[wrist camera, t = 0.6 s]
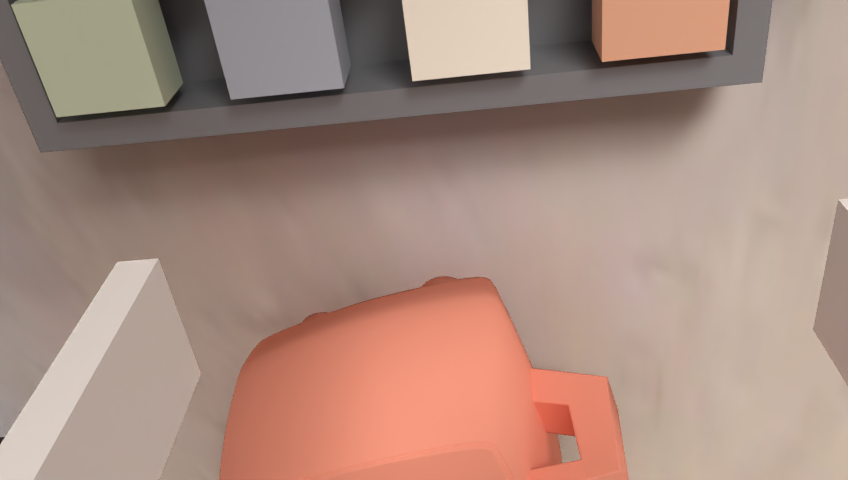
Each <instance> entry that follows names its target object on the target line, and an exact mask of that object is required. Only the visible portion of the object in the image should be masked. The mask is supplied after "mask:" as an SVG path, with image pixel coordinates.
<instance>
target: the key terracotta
mask: <svg viewBox="0 0 848 480" xmlns="http://www.w3.org/2000/svg"><path fill="white" fill-rule="evenodd" d="M729 4H730V0H592V42H593V44H594V46H595V49H596V51H597V53H598V55H599V57H600V59H601V61H602V62H607V61H617V60H627V59H637V58H647V57H657V56H666V55H676V54H686V53H696V52H706V51H716V50H725V45H726V35H727V25H728V14H729Z"/></svg>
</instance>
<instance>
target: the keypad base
mask: <svg viewBox="0 0 848 480" xmlns="http://www.w3.org/2000/svg"><path fill="white" fill-rule="evenodd" d="M16 1H18V0H0V59H1V61H2V64H3V66H4V68H5V71H6V73H7V75H8V78H9V80H10V82H11V85H12V87H13V89H14V92H15V94H16V96H17V99H18V101H19V103H20V106H21V108H22V110H23V113H24V115H25V117H26V120H27V122H28V124H29V127H30V129H31V131H32V134H33V136H34V138H35V141H36V143H37V145H38V148H39V150H40V152H52V151H62V150H72V149H82V148H93V147H103V146H113V145H123V144H134V143H144V142H154V141H165V140H175V139H185V138H195V137H206V136H216V135H226V134H236V133H247V132H257V131H267V130H277V129H288V128H298V127H308V126H318V125H329V124H339V123H349V122H360V121H370V120H380V119H390V118H401V117H411V116H421V115H431V114H442V113H452V112H462V111H472V110H483V109H493V108H503V107H513V106H524V105H534V104H544V103H554V102H565V101H575V100H585V99H596V98H606V97H616V96H626V95H637V94H647V93H657V92H667V91H678V90H688V89H698V88H708V87H719V86H729V85H739V84H749V83H760V82H762V79H763V71H764V63H765V55H766V47H767V39H768V31H769V23H770V15H771V7H772V0H730V4H729V14H728V25H727V35H726V45H725V50H716V51H706V52H696V53H686V54H676V55H666V56H657V57H647V58H637V59H627V60H617V61H607V62H602V61H601V59H600V57H599V55H598V53H597V51H596V49H595V46H594V44H593V42H592V0H528V22H529V45H530V68H531V69H528V70H518V71H509V72H499V73H489V74H479V75H469V76H459V77H449V78H440V79H430V80H420V81H412V74H411V66H410V59H409V51H408V44H407V36H406V28H405V21H404V13H403V6H402V0H340V6H341V12H342V17H343V23H344V29H345V35H346V40H347V46H348V52H349V57H350V63H351V67H350V70H349V74H348V77H347V80H346V84H345V87H344V88H341V89H331V90H321V91H311V92H302V93H292V94H282V95H272V96H262V97H252V98H242V99H233V100H231V98H230V95H229V91H228V87H227V84H226V80H225V76H224V72H223V69H222V65H221V61H220V58H219V54H218V50H217V46H216V43H215V39H214V35H213V32H212V28H211V24H210V20H209V17H208V13H207V9H206V6H205V2H204V0H158V1H159V4H160V7H161V11H162V14H163V17H164V21H165V24H166V27H167V31H168V34H169V37H170V41H171V44H172V47H173V51H174V54H175V57H176V61H177V64H178V67H179V71H180V74H181V77H182V81H183V84H182V85H181V87H180V88H179V89H178V90H177V92H176V93H175V94H174V96H173V97H172V98H171V100H170V101H169V102H168V103H167V105H166V106H163V107H154V108H144V109H134V110H124V111H114V112H104V113H94V114H85V115H75V116H65V117H56V115H55V112H54V110H53V108H52V105H51V103H50V100H49V98H48V95H47V93H46V90H45V88H44V85H43V83H42V80H41V78H40V75H39V73H38V70H37V68H36V66H35V63H34V61H33V58H32V56H31V53H30V51H29V48H28V46H27V43H26V41H25V38H24V36H23V33H22V31H21V28H20V26H19V24H18V21H17V19H16V16H15V14H14V11H13V9H12V6H11V4H13V3H14V2H16Z"/></svg>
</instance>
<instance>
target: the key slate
mask: <svg viewBox="0 0 848 480" xmlns="http://www.w3.org/2000/svg"><path fill="white" fill-rule="evenodd" d="M204 2H205V6H206V9H207V13H208V17H209V20H210V24H211V28H212V32H213V35H214V39H215V43H216V46H217V50H218V54H219V58H220V61H221V65H222V69H223V72H224V76H225V80H226V84H227V87H228V91H229V95H230V98H231V100H233V99H242V98H252V97H262V96H272V95H282V94H292V93H302V92H311V91H321V90H331V89H341V88H344V87H345V84H346V80H347V77H348V74H349V70H350V67H351V63H350V57H349V52H348V46H347V40H346V35H345V29H344V23H343V17H342V12H341V6H340V0H204Z"/></svg>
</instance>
